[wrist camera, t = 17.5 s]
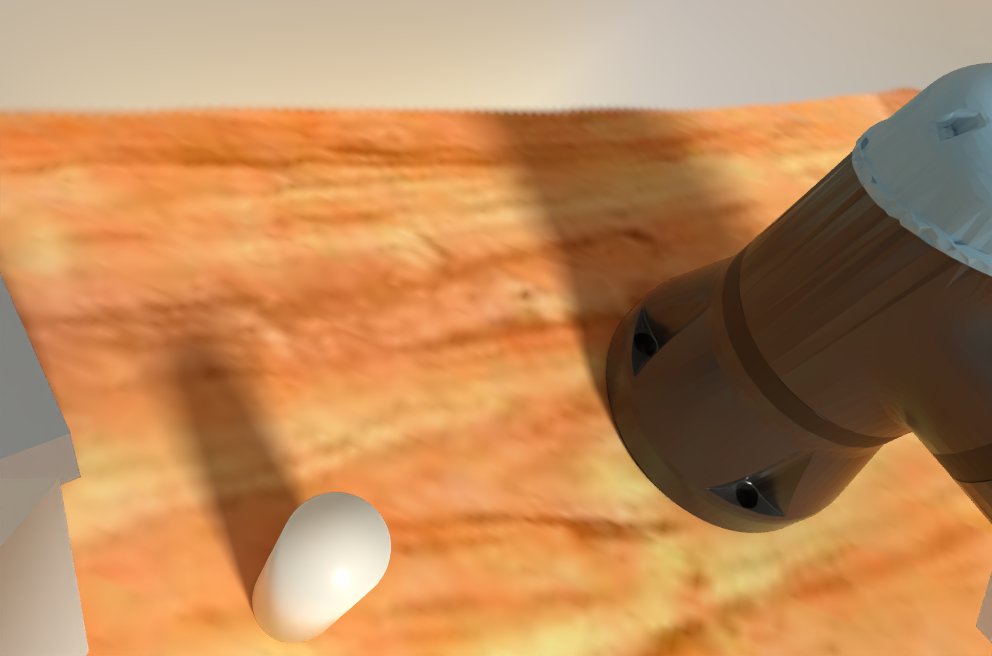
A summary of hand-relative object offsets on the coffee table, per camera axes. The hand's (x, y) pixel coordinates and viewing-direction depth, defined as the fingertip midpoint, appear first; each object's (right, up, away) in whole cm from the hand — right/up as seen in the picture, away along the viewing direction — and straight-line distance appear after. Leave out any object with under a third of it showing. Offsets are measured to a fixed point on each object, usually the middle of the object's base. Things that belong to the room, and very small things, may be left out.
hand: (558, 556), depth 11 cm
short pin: (-9, -8, +22) cm, 26 cm away
